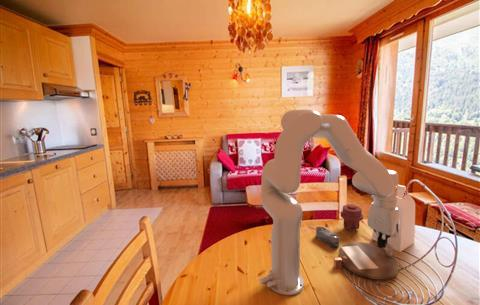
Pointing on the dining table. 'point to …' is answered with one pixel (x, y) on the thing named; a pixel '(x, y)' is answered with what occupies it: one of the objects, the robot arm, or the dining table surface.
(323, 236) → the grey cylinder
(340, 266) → the wheel stand
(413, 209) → the milk
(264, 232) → the dining table surface
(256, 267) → the dining table surface
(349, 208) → the mechanical component
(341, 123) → the robot arm
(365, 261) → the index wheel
